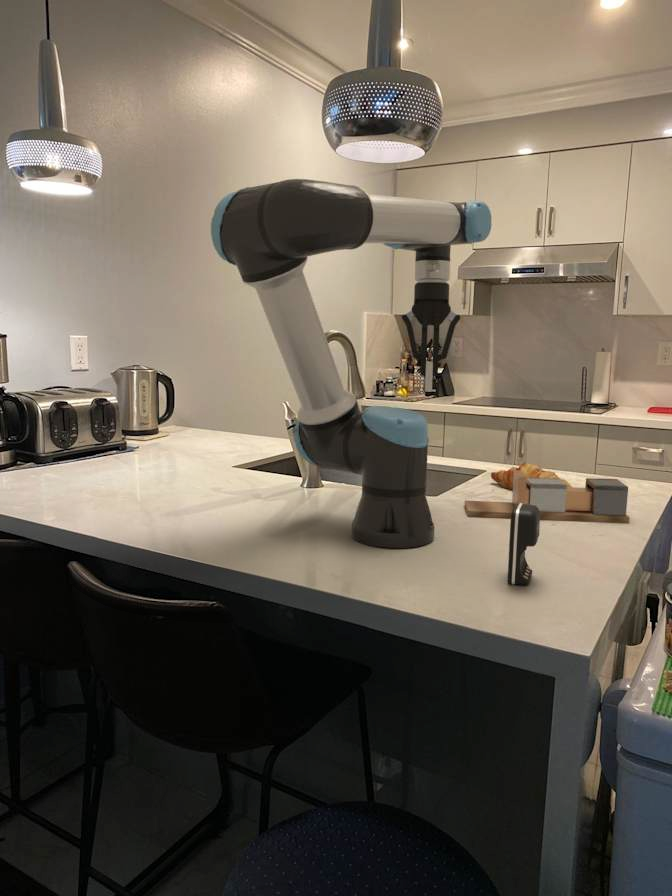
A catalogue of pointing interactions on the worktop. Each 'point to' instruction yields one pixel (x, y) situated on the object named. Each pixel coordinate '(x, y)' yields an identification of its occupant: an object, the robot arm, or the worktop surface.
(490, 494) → the worktop surface
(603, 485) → the grey box
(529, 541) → the battery charger
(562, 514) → the board
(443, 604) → the worktop surface
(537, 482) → the grey concrete cube
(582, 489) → the wood grain post
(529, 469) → the croissant
